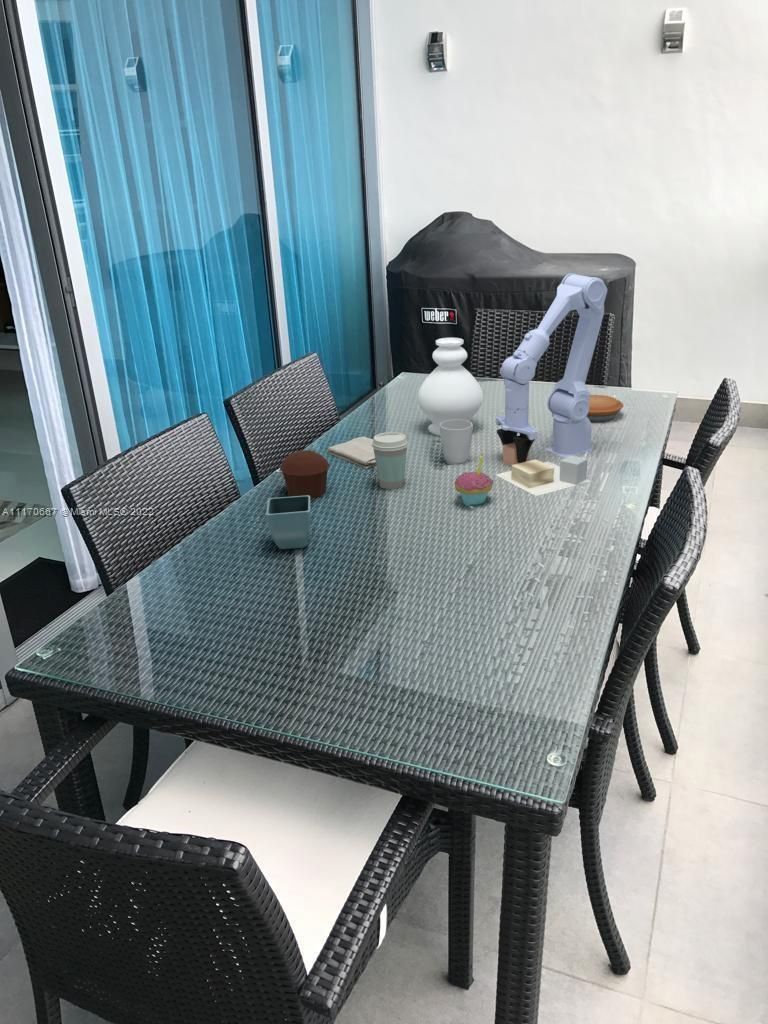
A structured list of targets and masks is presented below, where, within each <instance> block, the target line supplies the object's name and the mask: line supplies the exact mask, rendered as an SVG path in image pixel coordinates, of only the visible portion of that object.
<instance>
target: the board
mask: <svg viewBox="0 0 768 1024" xmlns="http://www.w3.org/2000/svg"><path fill="white" fill-rule="evenodd" d="M543 463H544V464H547V465H549V466H551V467H553V468H554V482H552V483H548V484H544V485H540V486H537V487H533V488H528V487H526V486H524V485H522V484H520V483H518V482H516V481H514V480H512V479H511V473H512V470H509V471H505V472H501V473H497V474H495V476H496V477H499V478H500V479H502V480H505V481H506V482H508V483H509V484H512V485H514V486H516V487H518V488H520V489H522V490H524V491H526V492H528V493H529V494H531V495H533V496H535V497H538V496H543V495H546V494H550V493H553V492H557V491H560V490H563V489H568V488H572V487H575V486H580V485H583V484H586V483H590V482H591V479H588V478H586V479H585V480H584V481H582V482H580V483H579V484H577V485H575V484H571V483H567V482H563V481H560V465H558V464H555V463H552V462H551V461H545V462H543Z"/></svg>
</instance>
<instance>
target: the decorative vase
mask: <svg viewBox="0 0 768 1024" xmlns="http://www.w3.org/2000/svg"><path fill="white" fill-rule="evenodd" d="M435 345H436V346H438V347H437V348H436V349H435V350H434V351H433V352H432V355H431V356H432V359H433V362H435V363H436V364H437V365H438V366H436V368H434V369H433V371H431V372H430V373H429V374H428V375H427V377H426V378H425V380H424V381H423V383H422V384H421V385H420V388H419V391H418V395H417V396H418V397H417V402H418V405H419V408H420V410H421V411H422V412H423V413H424V415H425V416H426V417H427V418H428V419H429V420H430V422H431V424H429V425H428V427H427V428H428V432H429V433H430V432H431V435H436V436H439V435H440V423H441V422H443V421H447V420H454V419H460V420H467V421H470V422H471V420H472V419H473V418H474V417H475V416H476V414H477V413H478V411H479V410H480V408H481V407H482V405H483V404H482V403H483V397H484V396H483V395H484V394H483V391H482V390H483V389H482V388H481V386H480V384H479V382H478V381H477V380H476V377H474V376H473V374H472V373H471V372H470V371H469V370H468V369H466V368H465V367H464V365H462V364H463V363H464V362H465V361H466V360H467V359H468V352H467V351H466V349H465V348H464V347H462V345H464V339H462V338H461V337H460V338H459V337H442V338H438V339H436V340H435ZM472 431H474V425H473V424H472ZM440 437H441V435H440Z"/></svg>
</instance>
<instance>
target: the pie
mask: <svg viewBox="0 0 768 1024" xmlns="http://www.w3.org/2000/svg"><path fill="white" fill-rule="evenodd" d="M622 408H624V403H623V402H622V400H621V401H620V400H619V399H617V398H616V397H612V396H608V395H601V394H590V398H589V412H588V414H587V416H586V417H587V418H588V419H589V420H590V423H591V422H592V423H593V422H594V423H603V422H608V421H612V420H614V418H616V416H617V415H618V413H619V412H620V411H621V410H622Z"/></svg>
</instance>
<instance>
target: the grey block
mask: <svg viewBox="0 0 768 1024" xmlns="http://www.w3.org/2000/svg"><path fill="white" fill-rule="evenodd" d="M559 461H560V462H559V467H560V481H563V482H567V483H571V484H575V485H576V486H578V485H577V484H579V483H580V482H582V481H584V480H585V479H587V476H588V475H587V472H588V458H585V457H584V458H583V457H579V456H576V455H570V456H568V457H563V459H561V460H559ZM579 485H580V484H579Z"/></svg>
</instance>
